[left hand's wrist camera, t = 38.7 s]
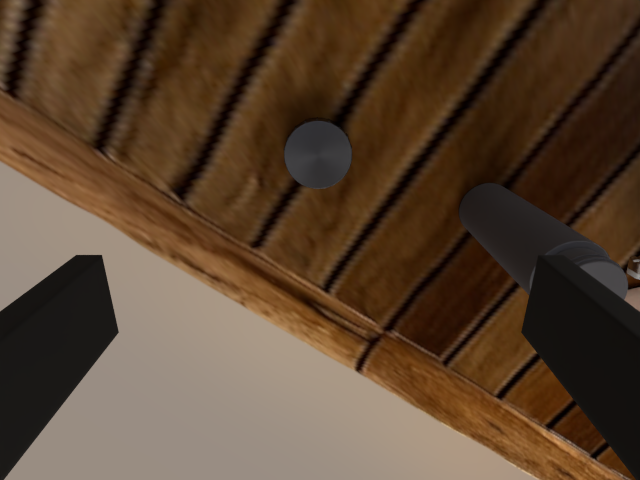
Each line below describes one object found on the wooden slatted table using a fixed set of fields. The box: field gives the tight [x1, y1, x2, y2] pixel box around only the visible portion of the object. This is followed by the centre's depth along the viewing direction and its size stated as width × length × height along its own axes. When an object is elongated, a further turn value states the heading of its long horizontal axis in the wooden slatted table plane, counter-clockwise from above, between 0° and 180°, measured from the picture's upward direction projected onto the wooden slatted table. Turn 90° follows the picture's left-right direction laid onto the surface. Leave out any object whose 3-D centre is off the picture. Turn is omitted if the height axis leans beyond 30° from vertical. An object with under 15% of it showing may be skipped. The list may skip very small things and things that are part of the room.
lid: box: [284, 117, 352, 189], centre depth 37 cm, size 6×6×2 cm
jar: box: [459, 183, 628, 300], centre depth 33 cm, size 5×5×17 cm
